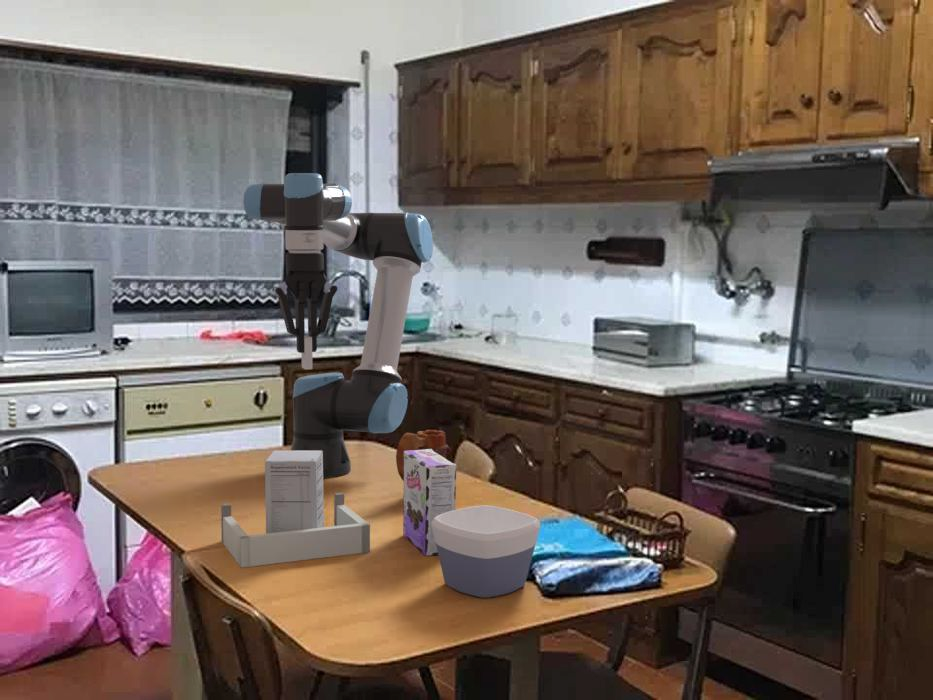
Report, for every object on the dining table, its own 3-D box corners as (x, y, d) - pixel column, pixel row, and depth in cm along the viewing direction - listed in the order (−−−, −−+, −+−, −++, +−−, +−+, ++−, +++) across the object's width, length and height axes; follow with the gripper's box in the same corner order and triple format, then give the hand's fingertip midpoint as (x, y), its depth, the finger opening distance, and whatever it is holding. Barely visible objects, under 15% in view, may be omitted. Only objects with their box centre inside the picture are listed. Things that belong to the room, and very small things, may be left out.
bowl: (418, 584, 170) (418, 517, 169) (484, 564, 181) (485, 501, 179) (485, 609, 159) (486, 538, 158) (551, 586, 170) (553, 519, 168)
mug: (430, 489, 231) (430, 423, 230) (458, 496, 226) (459, 428, 224) (384, 502, 220) (384, 432, 218) (412, 509, 215) (413, 437, 213)
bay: (221, 541, 191) (221, 503, 190) (341, 527, 201) (341, 492, 200) (241, 567, 177) (240, 527, 176) (369, 551, 186) (370, 513, 185)
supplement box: (325, 538, 194) (325, 449, 192) (318, 553, 185) (318, 460, 183) (273, 538, 194) (273, 449, 192) (264, 553, 185) (263, 460, 183)
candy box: (401, 535, 197) (402, 449, 195) (431, 532, 199) (432, 447, 197) (424, 556, 184) (425, 465, 182) (456, 553, 186) (457, 463, 184)
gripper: (277, 253, 202) (280, 373, 205) (341, 251, 207) (343, 369, 210) (267, 251, 208) (270, 367, 212) (330, 250, 214) (332, 363, 217)
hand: (307, 368), depth 211 cm, fingers closed
